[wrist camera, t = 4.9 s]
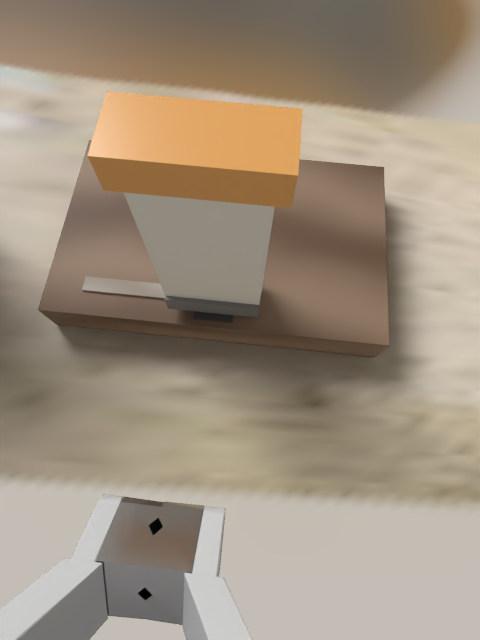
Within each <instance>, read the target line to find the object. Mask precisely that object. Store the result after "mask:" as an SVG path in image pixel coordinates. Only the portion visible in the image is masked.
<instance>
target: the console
mask: <svg viewBox="0 0 480 640" xmlns="http://www.w3.org/2000/svg"><path fill="white" fill-rule="evenodd" d="M91 142H92V140H89V143H88V146H87V150H86V153H85V156H84V159H83V163H82V166H81V169H80V173H79V176H78V179H77V183H76V186H75V189H74V193H73V196H72V199H71V202H70V206H69V209H68V212H67V216H66V219H65V222H64V226H63V229H62V232H61V236H60V239H59V242H58V246H57V249H56V252H55V255H54V259H53V262H52V265H51V269H50V272H49V275H48V279H47V282H46V285H45V289H44V292H43V295H42V298H41V302H40V305H39V308H38V310H39V311H40V312H42V313H43V314H44V315H45V316H47V317H48V318H49V319H50V320H52V321H53V322H54V323H55V324H57V325H67V326H77V327H86V328H96V329H106V330H116V331H125V332H135V333H145V334H155V335H165V336H174V337H184V338H194V339H204V340H213V341H223V342H233V343H243V344H252V345H262V346H272V347H282V348H292V349H301V350H311V351H321V352H331V353H340V354H350V355H360V356H370V357H375V356H376V355H378V354H379V353H380V352H381V351H383V350H384V349H385V348H387V347H388V346H389V321H388V288H387V255H386V223H385V190H384V167H376V166H365V165H354V164H343V163H332V162H322V161H311V160H300V159H299V171H298V179H297V183H296V188H295V192H294V197H293V201H292V206H291V208H283V207H275V208H274V215H273V221H272V227H271V234H270V240H269V246H268V253H267V259H266V265H265V272H264V278H263V284H262V291H261V297H260V303H259V312H258V318H255V317H245V316H235V315H226V314H216V313H206V312H196V311H186V310H176V309H168V307H167V305H166V302H165V294H164V291H163V289H162V286H161V284H160V281H159V279H158V276H157V274H156V271H155V269H154V266H153V264H152V261H151V259H150V257H149V254H148V252H147V249H146V247H145V244H144V242H143V239H142V237H141V234H140V232H139V229H138V227H137V224H136V222H135V220H134V217H133V215H132V212H131V210H130V207H129V205H128V202H127V200H126V197H125V195H124V192H114V191H104V190H103V188H102V186H101V184H100V182H99V180H98V178H97V175H96V173H95V171H94V169H93V167H92V165H91V163H90V161H89V159H88V156H87V155H88V152H89V148H90V145H91Z"/></svg>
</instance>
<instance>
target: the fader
mask: <svg viewBox="0 0 480 640" xmlns="http://www.w3.org/2000/svg"><path fill="white" fill-rule="evenodd" d="M301 124H302V109H299V108H288V107H276V106H265V105H254V104H243V103H231V102H220V101H209V100H198V99H186V98H175V97H164V96H153V95H141V94H130V93H119V92H108V91H107V92H106V95H105V98H104V102H103V105H102V108H101V112H100V115H99V118H98V122H97V125H96V128H95V132H94V135H93V138H92V142H91V145H90V148H89V152H88V155H87V156H88V159H89V161H90V163H91V165H92V167H93V169H94V171H95V173H96V175H97V178H98V180H99V182H100V184H101V186H102V188H103V190H104V191H114V192H124V195H125V197H126V200H127V202H128V205H129V207H130V210H131V212H132V215H133V217H134V220H135V222H136V224H137V227H138V229H139V232H140V234H141V237H142V239H143V242H144V244H145V247H146V249H147V252H148V254H149V257H150V259H151V261H152V264H153V266H154V269H155V271H156V274H157V276H158V279H159V281H160V284H161V286H162V289H163V291H164V294H165V302H166V305H167V307H168V309H176V310H186V311H196V312H206V313H216V314H226V315H235V316H245V317H255V318H258V312H259V303H260V297H261V291H262V284H263V278H264V272H265V265H266V259H267V253H268V246H269V240H270V234H271V227H272V221H273V215H274V208H275V207H283V208H291V206H292V201H293V197H294V192H295V188H296V183H297V179H298V171H299V156H300V140H301Z"/></svg>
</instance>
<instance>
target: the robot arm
mask: <svg viewBox="0 0 480 640" xmlns="http://www.w3.org/2000/svg"><path fill="white" fill-rule="evenodd" d="M224 520H225V509H224V508H216V507H207V506H205V507H204V506H203V505H192V504H183V503H173V502H157V501H150V500H143V499H136V498H129V497H122V496H114V495H106V494H103V496H102V497H101V498H100V499H99V501H98V503H97V505H96V507H95V509H94V511H93V513H92V516H91V517H90V519H89V521H88V524H87V526H86V528H85V530H84V532H83V534H82V536H81V538H80V540H79V543H78V544H77V546H76V549H75V551H74V553H73V555H72V557H71V559H67V558H64V559H63V560H61V561H60V562H59V563H58V564H56V565H55V566H54V567H53V568H51V569H50V570H49V571H48V572H46V573H45V574H44V575H43V576H41V577H40V578H39V579H38V580H36V581H35V582H34V583H33V584H31V585H30V586H29V587H28V588H26V589H25V590H24V591H22V592H21V593H20V594H19V595H18V596H16V597H15V598H14V599H12V600H11V601H10V602H9V603H8V604H6V605H5V606H4V607H3V608H1V609H0V640H90V638H91V637H92V636H93V635H94V634H95V633H96V631H97V630H98V629H99V628H100V627H101V626H102V624H103V623H104V622H105V621H106V620H107V618H108V616H117V617H127V618H138V619H148V620H154V621H161V622H167V623H173V624H180V625H183V630H184V633H185V637H186V640H252V638H251V635H250V633H249V631H248V629H247V627H246V624H245V622H244V620H243V618H242V616H241V614H240V611H239V609H238V607H237V605H236V603H235V600H234V598H233V596H232V594H231V592H230V589H229V587H228V585H227V583H226V581H225V579H224V578H223V577H219V571H220V562H221V552H222V541H223V531H224Z"/></svg>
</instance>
